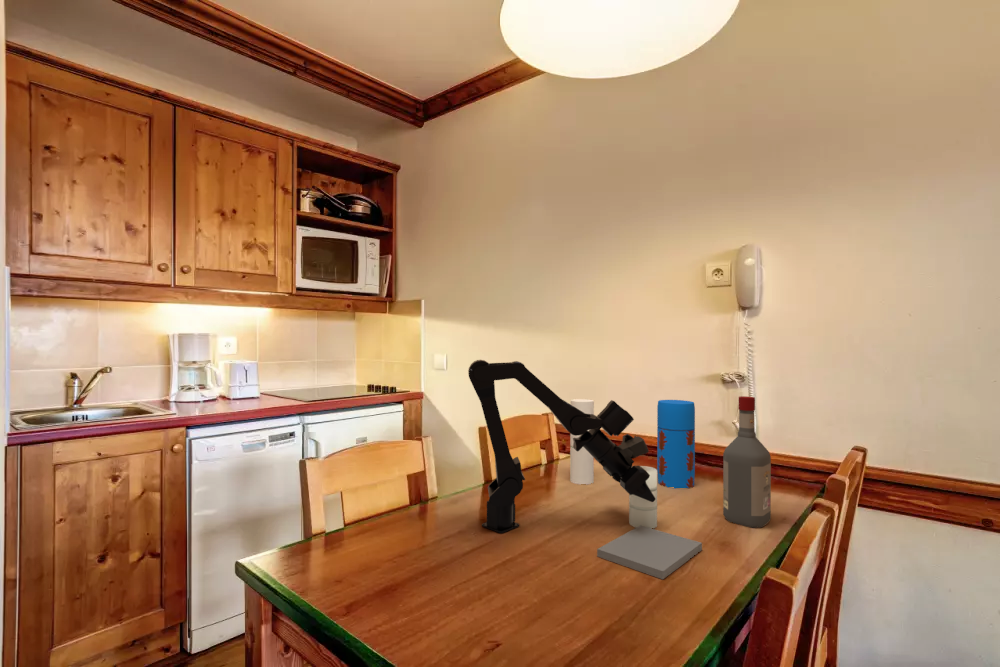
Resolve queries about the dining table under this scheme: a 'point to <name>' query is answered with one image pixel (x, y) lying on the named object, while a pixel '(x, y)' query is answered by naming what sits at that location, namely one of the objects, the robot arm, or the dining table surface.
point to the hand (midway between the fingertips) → (648, 496)
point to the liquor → (747, 473)
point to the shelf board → (650, 551)
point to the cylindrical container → (581, 450)
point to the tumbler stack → (644, 504)
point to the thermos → (676, 443)
